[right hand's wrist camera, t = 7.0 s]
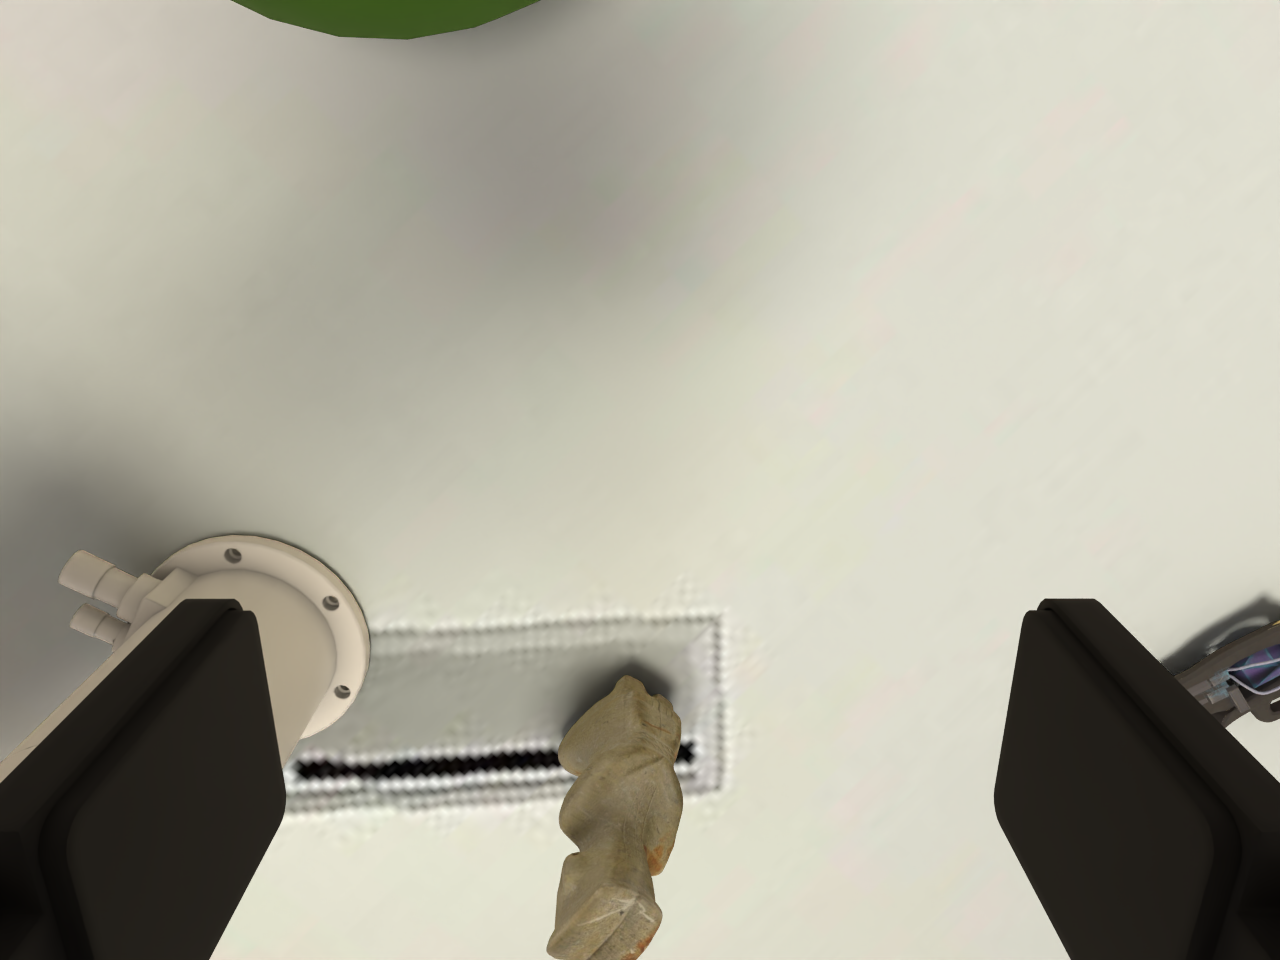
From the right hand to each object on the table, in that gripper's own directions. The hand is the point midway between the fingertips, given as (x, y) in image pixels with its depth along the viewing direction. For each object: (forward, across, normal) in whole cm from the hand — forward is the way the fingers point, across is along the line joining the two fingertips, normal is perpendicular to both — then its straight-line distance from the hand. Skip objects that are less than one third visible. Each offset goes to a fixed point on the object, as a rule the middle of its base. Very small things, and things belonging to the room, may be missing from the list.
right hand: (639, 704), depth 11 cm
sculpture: (+35, -1, -24) cm, 42 cm away
